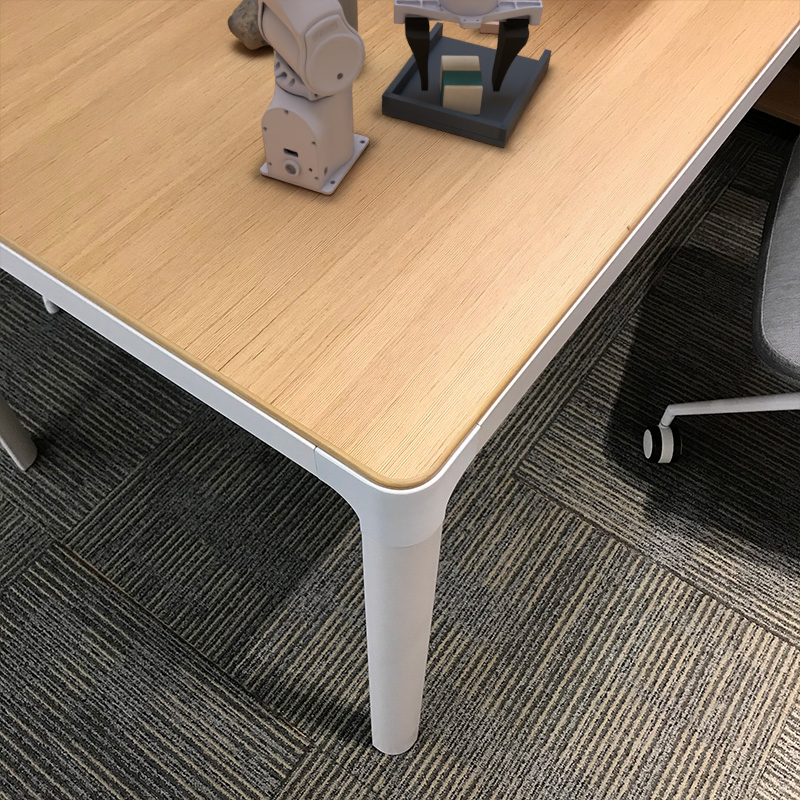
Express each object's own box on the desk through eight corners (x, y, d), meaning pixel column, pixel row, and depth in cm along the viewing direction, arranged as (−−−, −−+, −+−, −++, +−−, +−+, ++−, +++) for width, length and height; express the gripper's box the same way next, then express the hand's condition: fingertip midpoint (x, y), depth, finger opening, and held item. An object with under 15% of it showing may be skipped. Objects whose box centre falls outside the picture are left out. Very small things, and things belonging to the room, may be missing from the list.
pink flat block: (512, 35, 93) (514, 25, 92) (479, 32, 93) (480, 23, 92) (513, 17, 95) (514, 8, 94) (480, 15, 95) (481, 5, 94)
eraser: (475, 82, 85) (478, 55, 83) (480, 115, 82) (483, 88, 79) (439, 82, 85) (441, 55, 83) (441, 115, 82) (444, 87, 79)
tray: (503, 148, 80) (506, 129, 78) (381, 113, 83) (381, 94, 81) (548, 69, 89) (551, 50, 87) (435, 40, 92) (437, 21, 90)
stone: (328, 42, 92) (292, -22, 90) (333, 28, 87) (295, -40, 85) (258, 84, 92) (220, 21, 90) (259, 72, 86) (219, 5, 84)
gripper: (395, -27, 69) (393, 107, 80) (556, -24, 69) (531, 108, 80) (394, -64, 73) (392, 68, 84) (546, -62, 73) (523, 70, 84)
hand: (459, 85), depth 82 cm, fingers open, 7 cm apart
